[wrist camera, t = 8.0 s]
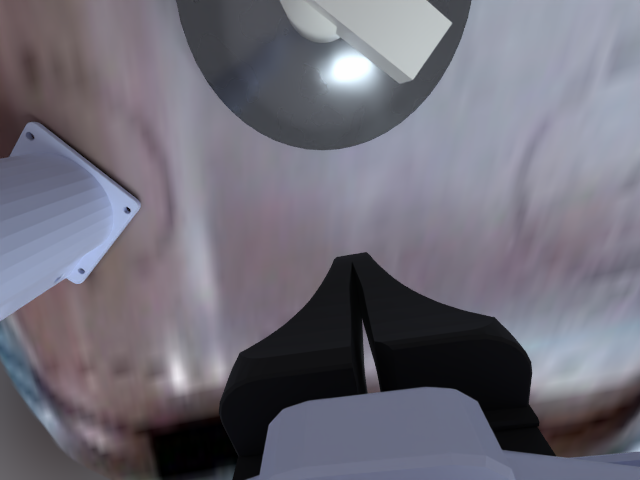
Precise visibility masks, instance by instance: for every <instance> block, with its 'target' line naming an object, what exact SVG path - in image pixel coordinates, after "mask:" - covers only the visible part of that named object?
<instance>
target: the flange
mask: <svg viewBox="0 0 640 480" xmlns="http://www.w3.org/2000/svg"><path fill="white" fill-rule="evenodd" d="M176 1H177V6H178V11H179V15H180V20H181V24H182V27H183V30H184V33H185V36H186V39H187V42H188V45H189V47H190V49H191V52H192V54H193V56H194V58H195V61H196V63H197V65H198V66H199V68H200V70H201V72H202V73H203V75H204V77H205V79H206V80H207V82H208V83H209V85H210V86H211V87H212V89H213V90H214V92H215V93H216V94H217V96H218V97H219V98H220V99H221V100H222V101H223V103H224V104H225V105H226V106H227V107H228V108H229V109H230V110H231V111H232V112H233V113H234V114H235V115H236V116H238V117H239V118H240V119H241V120H242V121H243V122H245V123H246V124H247V125H249V126H250V127H252V128H253V129H255V130H256V131H258V132H259V133H261V134H263V135H265V136H267V137H269V138H271V139H273V140H275V141H278V142H281V143H284V144H287V145H290V146H294V147H299V148H304V149H313V150H332V149H341V148H346V147H351V146H356V145H358V144H361V143H364V142H367V141H370V140H372V139H374V138H376V137H378V136H380V135H382V134H384V133H386V132H388V131H389V130H391V129H392V128H394V127H395V126H397V125H398V124H400V123H401V122H402V121H403V120H405V119H406V118H407V117H408V116H409V115H410V114H412V113H413V112H414V111H415V110H416V109H417V108H418V107H419V106H420V105H421V104H422V102H423V101H424V100H425V99H426V98H427V97H428V96H429V95H430V93H431V92H432V90H433V89H434V88H435V86H436V85H437V84H438V82H439V81H440V80H441V78H442V76H443V74H444V73H445V71H446V69H447V67H448V66H449V64H450V62H451V60H452V58H453V56H454V54H455V51H456V49H457V47H458V45H459V42H460V40H461V37H462V34H463V31H464V28H465V25H466V22H467V19H468V14H469V9H470V5H471V0H427V1H428V2H429V3H430V4H431V5H432V6H434V7H435V8H436V9H437V10H438V11H439V12H440V13H442V14H443V15H444V16H445V17H446V18H447V19H448V20H449V21H451V22H452V24H451V26H450V27H449V29H448V30H447V32H446V33H445V35H444V36H443V37H442V39H441V40H440V42H439V43H438V45H437V46H436V47H435V49H434V50H433V52H432V53H431V55H430V56H429V58H428V59H427V60H426V62H425V63H424V65H423V66H422V68H421V69H420V70H419V72H418V73H417V75H416V76H415V78H414V79H413V80H411V81H408V82H404V83H401V84H399V83H398V82H397V81H395V80H394V79H393V78H392V77H390V76H389V75H388V74H386V73H385V72H384V71H383V70H381V69H380V68H379V67H378V66H376V65H375V64H374V63H373V62H371V61H370V60H369V59H367V58H366V57H365V56H364V55H362V54H361V53H360V52H359V51H357V50H356V49H355V48H353V47H352V46H351V45H350V44H348V43H347V42H346V41H345V40H343V39H342V38H341V37H340V38H339V39H337V40H335V41H332V42H327V43H317V42H313V41H310V40H308V39H306V38H304V37H303V36H301V35H300V34H299V33H298V32H297V31H296V30H295V29H294V28H293V26H292V25H291V23H290V21H289V19H288V17H287V15H286V13H285V11H284V9H283V6H282V4H281V2H280V0H176Z"/></svg>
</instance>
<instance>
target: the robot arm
mask: <svg viewBox="0 0 640 480" xmlns="http://www.w3.org/2000/svg"><path fill="white" fill-rule="evenodd" d="M31 133H32V134H33V135H34V139H33V137H32V135H31ZM127 207H128V208H130V210H131V212H129V211H128V210H127ZM140 207H141V204H140V202H139V201H138V199H136V198H135V197H134V196H133V195H131V194H130V193H129V192H127V191H126V190H125V189H124V188H122V187H121V186H120V185H118V184H117V183H116V182H115V181H113V180H112V179H111V178H109V177H108V176H107V175H106V174H104V173H103V172H102V171H101V170H99V169H98V168H97V167H95V166H94V165H93V164H92V163H90V162H89V161H88V160H86V159H85V158H84V157H83V156H81V155H80V154H79V153H78V152H76V151H75V150H74V149H72V148H71V147H70V146H69V145H67V144H66V143H65V142H63V141H62V140H61V139H60V138H58V137H57V136H56V135H54V134H53V133H52V132H51V131H49V130H48V129H47V128H46V127H44V126H43V125H42V124H40V123H38V122H29V123H27V124H26V126H25V128H24V130H23V132H22V133H21V135H20V137H19V139H18V141H17V143H16V145H15V147H14V148H13V150H12V152H11V154H10V156H9V157H7V158H1V159H0V321H1V320H3V319H4V318H6V317H7V316H9V315H10V314H12V313H13V312H15V311H16V310H18V309H19V308H21V307H22V306H24V305H25V304H27V303H29V302H30V301H32V300H33V299H35V298H36V297H38V296H39V295H41V294H42V293H44V292H45V291H47V290H48V289H50V288H51V287H53V286H54V285H56V284H57V283H59V282H60V281H62V280H63V279H65V278H67V279H68V280H70V281H72V282H73V283H75V284H80V283H82V282H83V281H84V280H85V279H86V278H87V277H88V275H89V274H90V273H91V271H92V270H93V269H94V267H95V266H96V265H97V264H98V262H99V261H100V260H101V258H102V257H103V256H104V254H105V253H106V252H107V251H108V249H109V248H110V247H111V245H112V244H113V243H114V242H115V240H116V239H117V238H118V236H119V235H120V234H121V232H122V231H123V230H124V229H125V227H126V226H127V225H128V223H129V222H130V221H131V219H132V218H133V217H134V216H135V214H136V213H137V212H138V210H139V209H140ZM82 269H83V270H84V271H83V270H82ZM362 320H363V323H364V327H365V330H366V334H367V337H368V341H369V344H370V348H371V352H372V355H373V359H374V362H375V366H376V370H377V374H378V380H379V385H380V391H381V392H377V393H369V394H368V393H367V386H366V379H365V369H364V351H363V329H362ZM531 378H532V366H531V361H530V359H529V357H528V355H527V353H526V351H525V350H524V349H523V348H522V346H521V345H520V344H519V343H518V341H517V340H516V339H515V338H514V337H513V336H512V335H511V333H510V332H509V331H508V330H507V329H506V328H505V327H504V326H503V325H502V324H501V323H500V322H499V321H498V320H497V319H496V318H495V317H490V316H486V315H481V314H477V313H472V312H468V311H464V310H460V309H457V308H454V307H451V306H448V305H445V304H442V303H439V302H437V301H434V300H432V299H430V298H427V297H425V296H423V295H421V294H419V293H417V292H415V291H413V290H411V289H410V288H408V287H406V286H404V285H403V284H401V283H400V282H399V281H397V280H396V279H394V278H393V277H392V276H391V275H389V274H388V273H387V272H386V271H385V270H384V269H383V268H381V267H380V266H379V265H378V264H377V263H376V262H375V261H374V260H373V258H372V257H371V256H370V255H369V254H368V253H367V252H365V253H359V254H353V255H347V256H341V257H336V258H335V259H334V261H333V264H332V266H331V268H330V270H329V272H328V274H327V275H326V277H325V279H324V281H323V282H322V284H321V285H320V287H319V288H318V290H317V291H316V293H315V294H314V295H313V297H312V298H311V299H310V301H309V302H308V303H307V304H306V305H305V306H304V307H303V308H302V309H301V310H300V311H299V312H298V313H297V314H296V315H295V316H294V317H293V318H291V319H290V320H289V321H288V322H287V323H286V324H285V325H283V326H282V327H281V328H279V329H278V330H277V331H275V332H274V333H272V334H271V335H269V336H268V337H266V338H265V339H263V340H262V341H260V342H258V343H256V344H255V345H253V346H251V347H250V348H248V349H246V350H244V351H242V352H240V354H239V356H238V358H237V360H236V362H235V364H234V366H233V368H232V371H231V373H230V376H229V378H228V381H227V384H226V387H225V389H224V392H223V395H222V398H221V401H220V406H219V415H220V418H221V421H222V424H223V426H224V428H225V430H226V432H227V434H228V436H229V438H230V440H231V442H232V444H233V446H234V448H235V450H236V452H237V454H238V460H237V464H236V468H235V472H234V476H233V480H640V452H630V453H619V454H608V455H597V456H586V457H574V458H563V457H556V455H555V454H554V452H553V450H552V449H551V447H550V446H549V444H548V443H547V441H546V440H545V438H544V437H543V435H542V434H541V432H540V430H539V429H538V427H537V426H539V420H538V417H537V416H536V414H535V413H534V411H533V410H532V408H531V407H530V405H529V396H530V387H531Z"/></svg>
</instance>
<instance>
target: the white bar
mask: <svg viewBox="0 0 640 480" xmlns="http://www.w3.org/2000/svg"><path fill="white" fill-rule="evenodd" d="M280 2H281V4H282V6H283V9H284V11H285V13H286V15H287V17H288V19H289V21H290V23H291V25H292V26H293V28H294V29H295V30H296V31H297V32H298V33H299V34H300V35H301V36H303V37H304V38H306V39H308V40H310V41H313V42H317V43H327V42H332V41H335V40H337V39H339V38H340V37H341V38H342V39H343V40H345V41H346V42H347V43H348V44H350V45H351V46H352V47H353V48H355V49H356V50H357V51H359V52H360V53H361V54H362V55H364V56H365V57H366V58H367V59H369V60H370V61H371V62H373V63H374V64H375V65H376V66H378V67H379V68H380V69H381V70H383V71H384V72H385V73H386V74H388V75H389V76H390V77H392V78H393V79H394V80H395V81H397V82H398V83H399V84H401V83H404V82H408V81H411V80H413V79H414V78H415V76H416V75H417V73H418V72H419V70H420V69H421V68H422V66H423V65H424V63H425V62H426V60H427V59H428V58H429V56H430V55H431V53H432V52H433V50H434V49H435V47H436V46H437V45H438V43H439V42H440V40H441V39H442V37H443V36H444V35H445V33H446V32H447V30H448V29H449V27H450V26H451V24H452V22H451V21H449V20H448V19H447V18H446V17H445V16H444V15H443V14H442V13H440V12H439V11H438V10H437V9H436V8H435V7H434V6H432V5H431V4H430V3H429V2H428V1H427V0H280Z"/></svg>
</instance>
